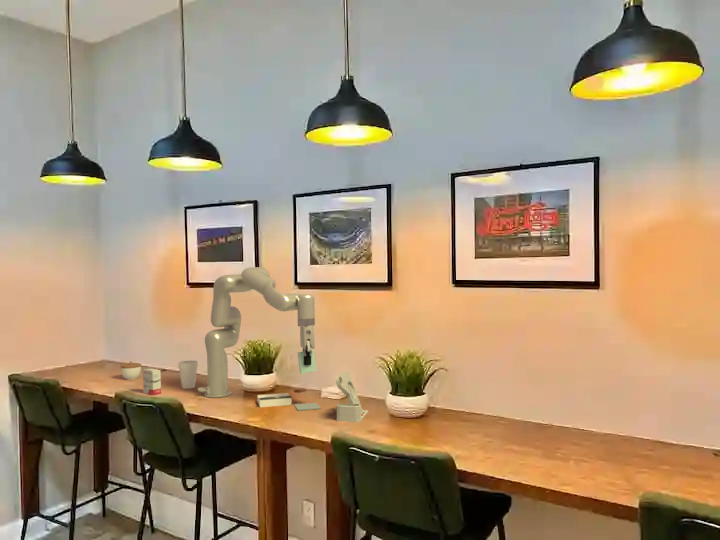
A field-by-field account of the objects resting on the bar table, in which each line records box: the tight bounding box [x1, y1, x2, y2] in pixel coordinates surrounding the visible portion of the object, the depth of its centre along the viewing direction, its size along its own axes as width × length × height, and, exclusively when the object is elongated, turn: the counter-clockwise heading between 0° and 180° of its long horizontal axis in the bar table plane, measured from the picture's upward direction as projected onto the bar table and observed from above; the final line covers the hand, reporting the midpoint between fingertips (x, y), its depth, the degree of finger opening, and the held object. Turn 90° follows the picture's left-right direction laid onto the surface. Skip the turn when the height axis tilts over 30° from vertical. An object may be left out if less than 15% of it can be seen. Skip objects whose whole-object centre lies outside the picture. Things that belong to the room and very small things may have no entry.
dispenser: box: [257, 392, 292, 408], centre depth 272 cm, size 14×11×4 cm
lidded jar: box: [120, 361, 142, 380], centre depth 333 cm, size 11×11×9 cm
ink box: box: [142, 367, 162, 396], centre depth 295 cm, size 9×5×12 cm, turn 51°
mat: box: [293, 402, 322, 412], centre depth 264 cm, size 10×10×1 cm
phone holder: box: [334, 369, 369, 423], centre depth 247 cm, size 17×10×18 cm, turn 167°
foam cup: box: [178, 359, 199, 389], centre depth 308 cm, size 10×9×13 cm
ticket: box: [297, 349, 318, 374], centre depth 263 cm, size 7×2×9 cm, turn 105°
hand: (307, 364), depth 263 cm, fingers closed on ticket, 2 cm apart
